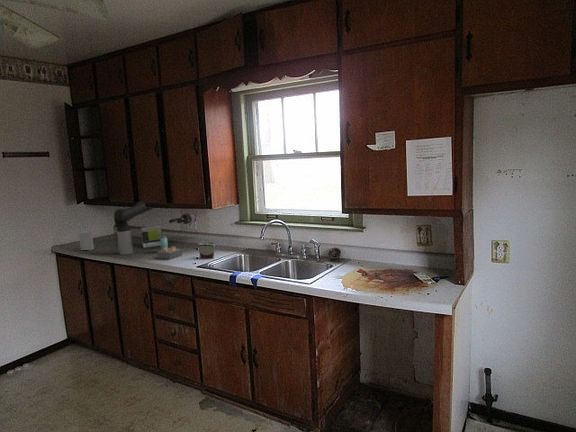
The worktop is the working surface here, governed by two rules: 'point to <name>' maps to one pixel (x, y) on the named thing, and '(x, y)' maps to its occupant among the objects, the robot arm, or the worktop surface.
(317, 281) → the worktop surface
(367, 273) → the worktop surface
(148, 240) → the tea box
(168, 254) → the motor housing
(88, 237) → the skincare box
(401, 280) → the worktop surface
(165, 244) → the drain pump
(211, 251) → the food container
